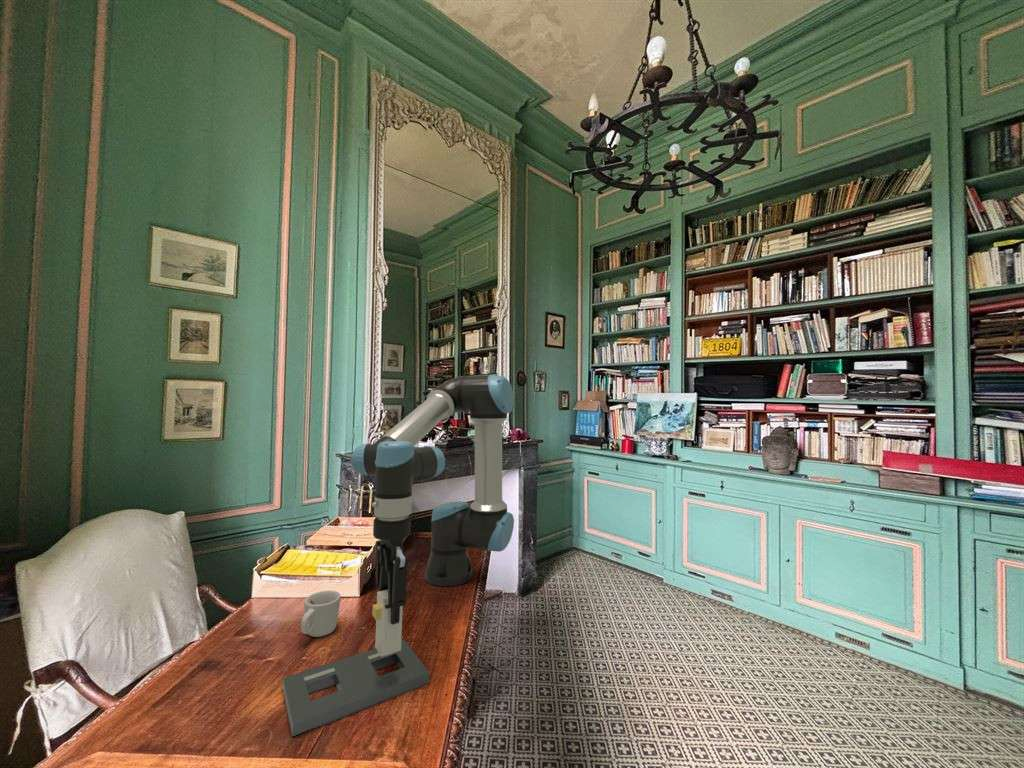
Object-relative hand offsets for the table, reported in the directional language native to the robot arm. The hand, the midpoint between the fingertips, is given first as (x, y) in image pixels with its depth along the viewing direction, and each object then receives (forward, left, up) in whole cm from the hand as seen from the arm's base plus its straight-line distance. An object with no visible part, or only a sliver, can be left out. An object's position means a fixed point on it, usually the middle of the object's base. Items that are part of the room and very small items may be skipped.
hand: (388, 632), depth 83 cm
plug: (0, 0, -3) cm, 3 cm away
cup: (+9, -24, -9) cm, 27 cm away
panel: (+6, 0, -8) cm, 10 cm away
